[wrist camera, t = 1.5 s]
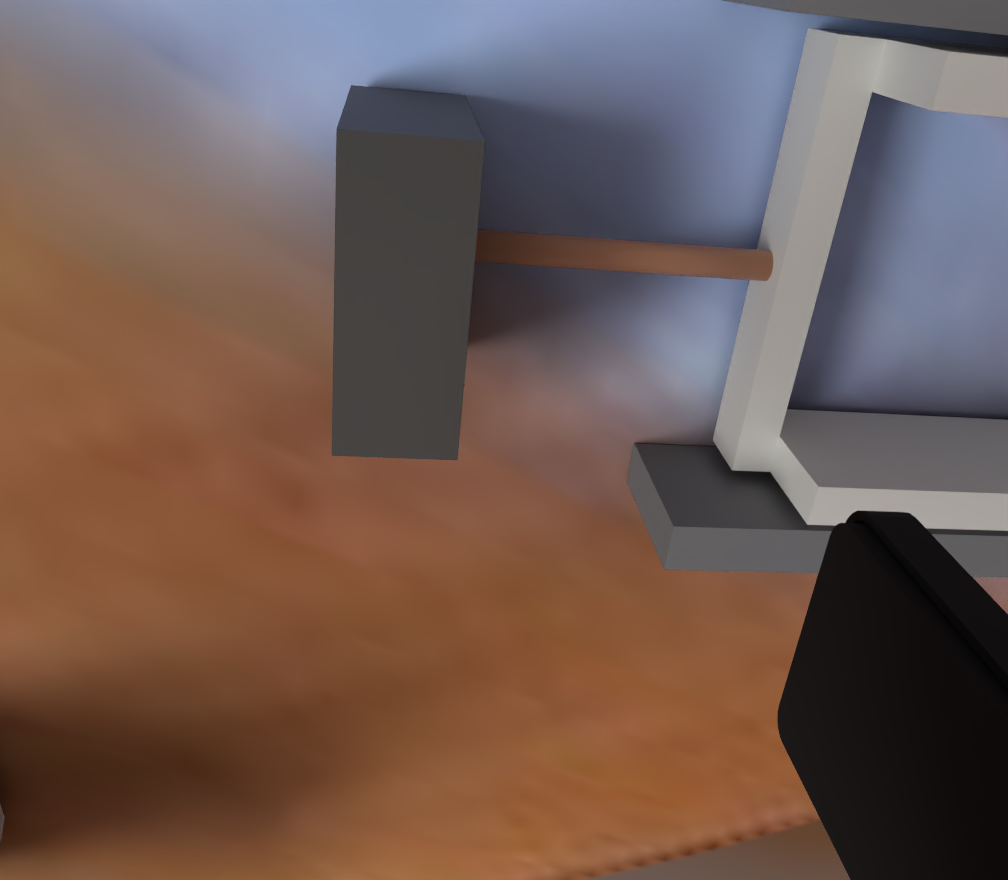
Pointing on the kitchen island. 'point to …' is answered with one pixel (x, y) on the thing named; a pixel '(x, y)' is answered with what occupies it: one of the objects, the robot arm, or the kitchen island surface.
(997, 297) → the kitchen island surface
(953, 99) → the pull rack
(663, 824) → the kitchen island surface
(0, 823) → the can
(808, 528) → the tray
